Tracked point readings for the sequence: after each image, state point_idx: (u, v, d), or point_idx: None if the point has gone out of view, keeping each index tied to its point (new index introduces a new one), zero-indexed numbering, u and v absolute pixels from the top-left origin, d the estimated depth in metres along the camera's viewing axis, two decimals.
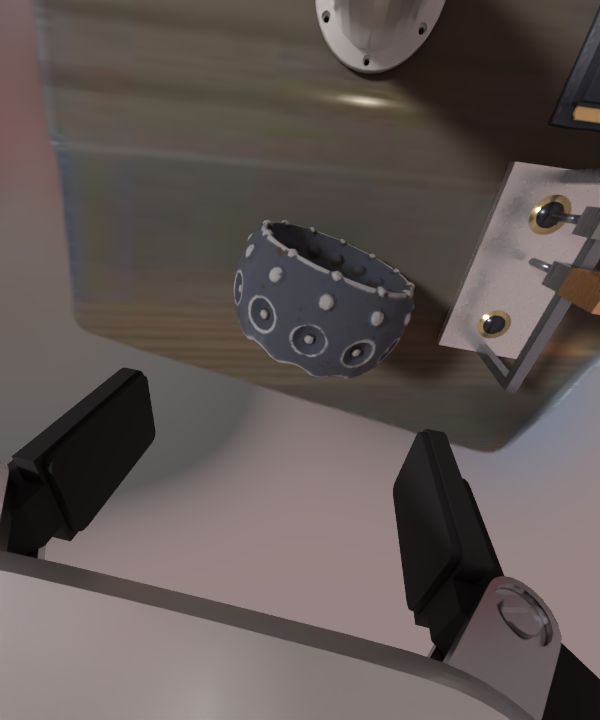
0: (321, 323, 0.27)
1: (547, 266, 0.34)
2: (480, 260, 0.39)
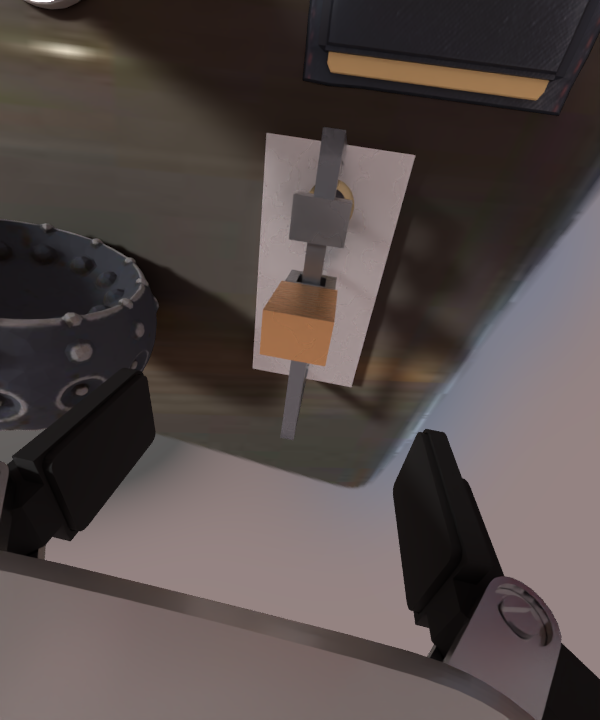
0: None
1: None
2: (266, 265, 0.30)
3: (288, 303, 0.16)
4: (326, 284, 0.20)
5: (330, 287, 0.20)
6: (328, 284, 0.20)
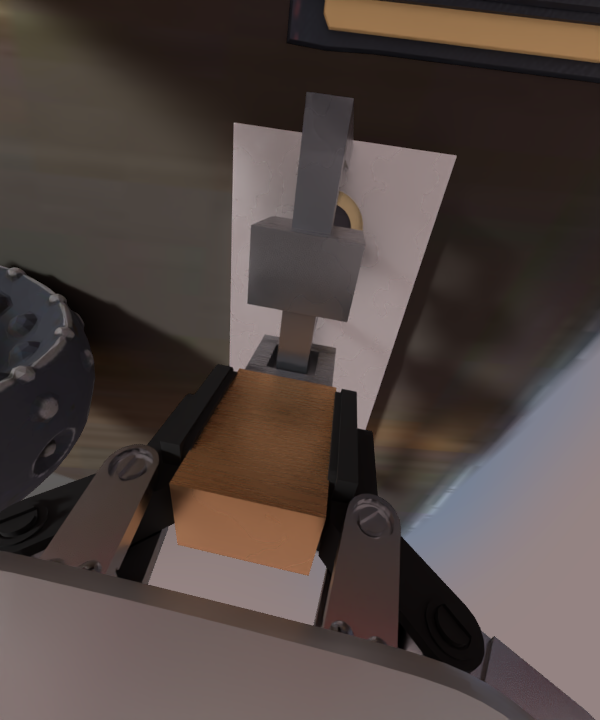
0: None
1: None
2: (240, 306, 0.22)
3: (234, 448, 0.08)
4: (318, 369, 0.12)
5: (324, 377, 0.12)
6: (321, 369, 0.12)
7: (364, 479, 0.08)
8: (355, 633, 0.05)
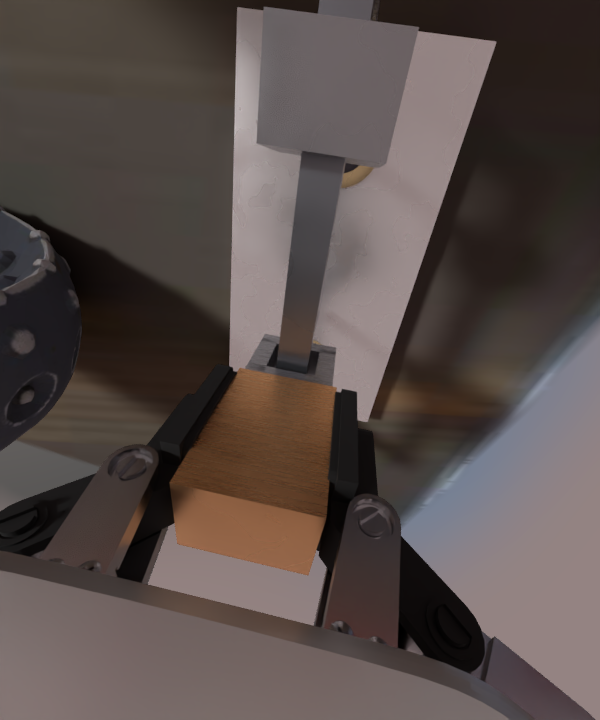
0: None
1: None
2: (243, 243, 0.20)
3: (235, 448, 0.08)
4: (318, 369, 0.12)
5: (324, 377, 0.12)
6: (321, 369, 0.12)
7: (364, 479, 0.08)
8: (355, 633, 0.05)
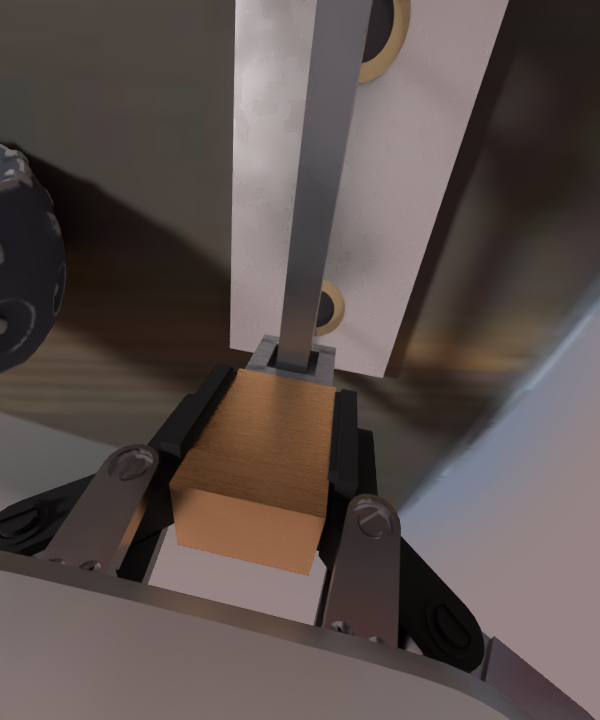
0: None
1: None
2: (245, 161, 0.17)
3: (234, 448, 0.08)
4: (318, 369, 0.12)
5: (324, 377, 0.12)
6: (321, 369, 0.12)
7: (364, 479, 0.08)
8: (355, 633, 0.05)
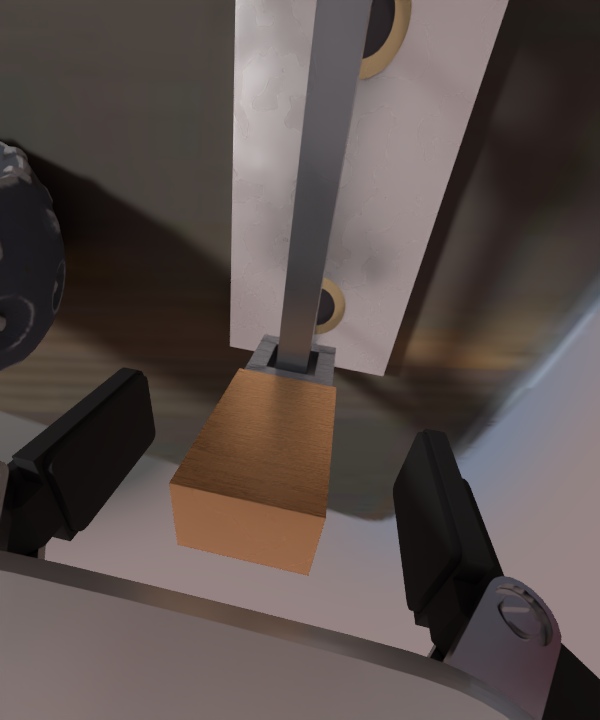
0: None
1: None
2: (245, 158, 0.17)
3: (234, 448, 0.08)
4: (317, 369, 0.12)
5: (324, 377, 0.12)
6: (321, 369, 0.12)
7: None
8: None
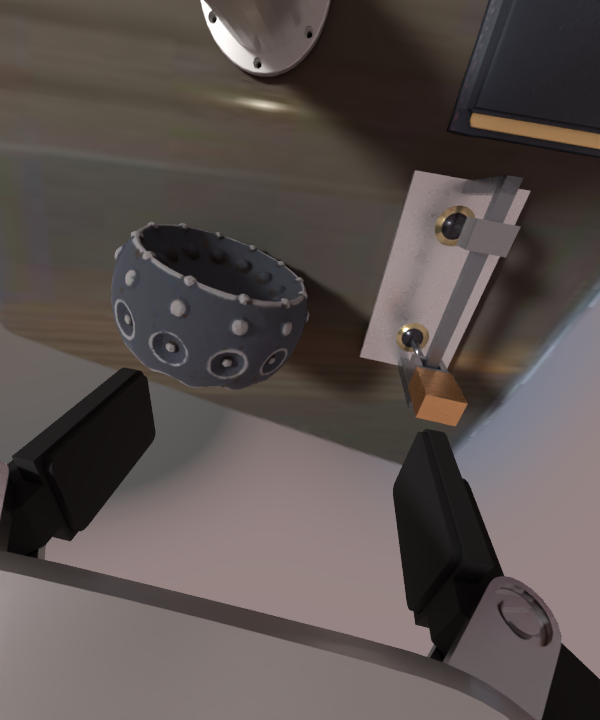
0: (176, 331, 0.25)
1: (416, 352, 0.37)
2: (391, 271, 0.38)
3: (435, 388, 0.28)
4: (441, 368, 0.32)
5: (445, 371, 0.31)
6: (442, 368, 0.32)
7: None
8: None
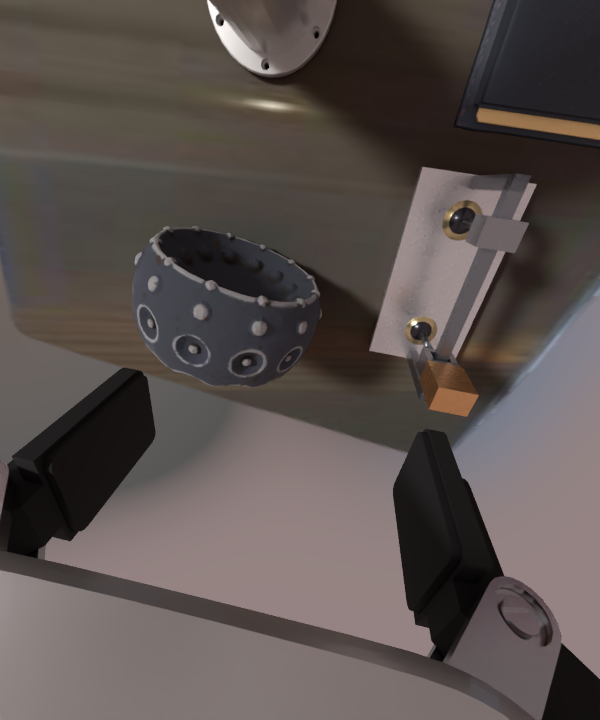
0: (199, 333, 0.26)
1: (426, 345, 0.38)
2: (400, 266, 0.38)
3: (446, 381, 0.29)
4: (451, 360, 0.33)
5: (455, 363, 0.33)
6: (452, 360, 0.33)
7: None
8: None
